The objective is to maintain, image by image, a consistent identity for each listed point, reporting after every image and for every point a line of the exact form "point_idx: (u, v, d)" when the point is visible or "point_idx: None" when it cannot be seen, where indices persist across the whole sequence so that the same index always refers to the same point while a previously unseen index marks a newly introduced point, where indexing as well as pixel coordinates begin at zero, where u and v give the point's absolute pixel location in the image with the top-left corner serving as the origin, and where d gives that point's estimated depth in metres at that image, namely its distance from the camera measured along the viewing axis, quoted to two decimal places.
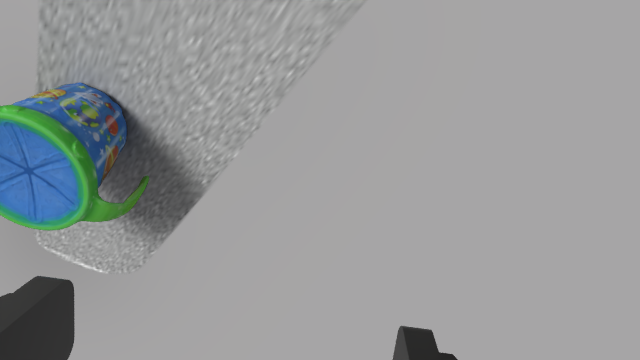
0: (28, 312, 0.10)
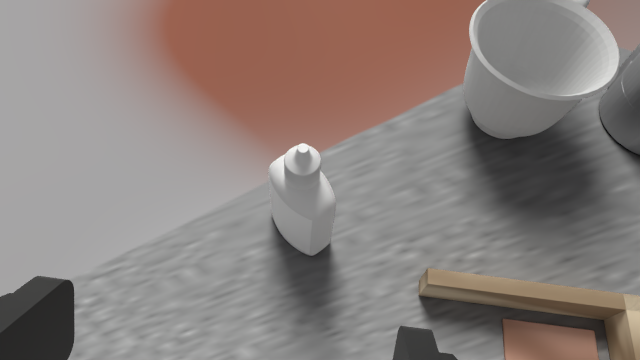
0: (28, 312, 0.10)
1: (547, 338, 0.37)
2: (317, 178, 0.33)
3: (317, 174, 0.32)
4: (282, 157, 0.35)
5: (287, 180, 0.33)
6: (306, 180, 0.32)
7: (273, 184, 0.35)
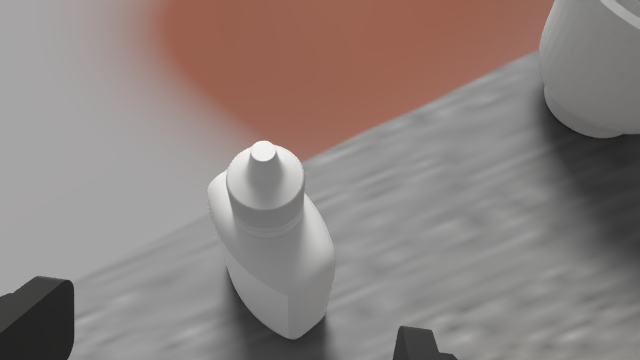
0: (28, 312, 0.10)
1: None
2: (298, 214, 0.16)
3: (297, 206, 0.15)
4: None
5: (236, 217, 0.16)
6: (273, 219, 0.15)
7: (214, 221, 0.18)
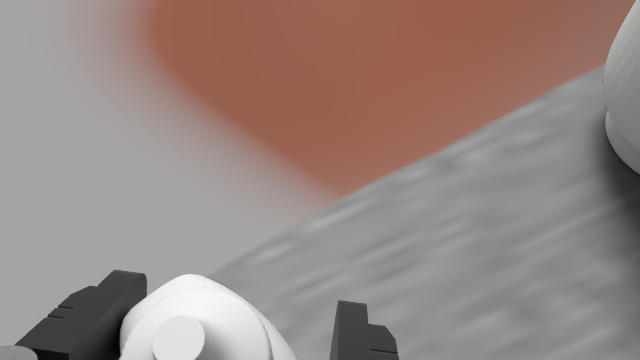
0: (116, 303, 0.11)
1: None
2: None
3: None
4: (162, 294, 0.11)
5: None
6: None
7: None
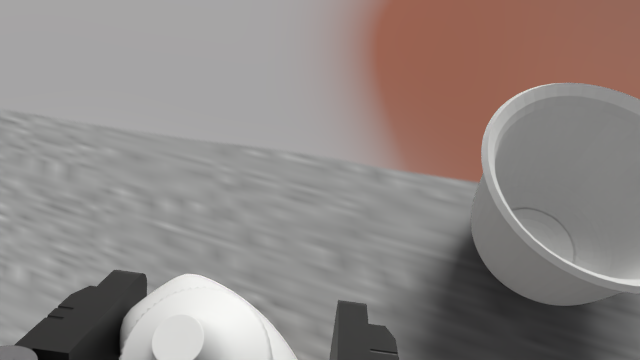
0: (116, 303, 0.11)
1: None
2: None
3: None
4: (162, 293, 0.11)
5: None
6: None
7: None
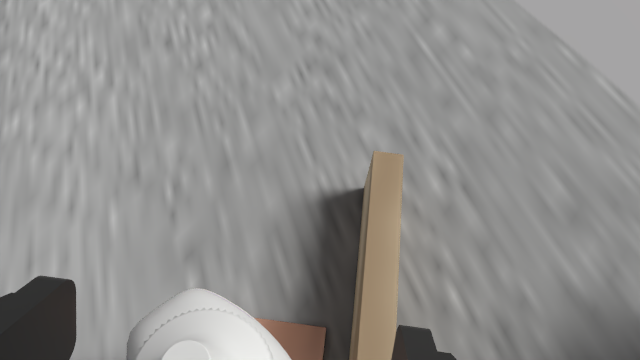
0: (30, 312, 0.10)
1: None
2: None
3: None
4: (168, 309, 0.11)
5: None
6: None
7: None
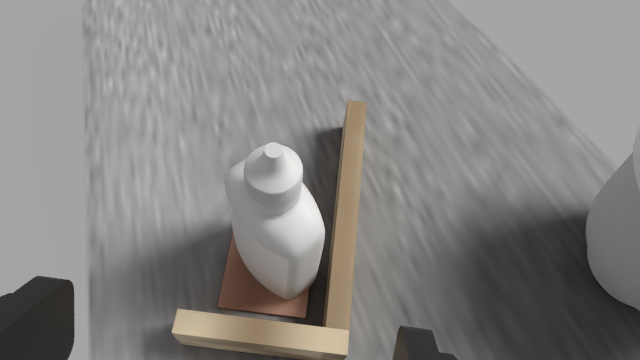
0: (28, 312, 0.10)
1: None
2: (296, 197, 0.21)
3: (296, 191, 0.21)
4: (245, 161, 0.23)
5: (249, 199, 0.21)
6: (279, 200, 0.20)
7: (230, 202, 0.23)
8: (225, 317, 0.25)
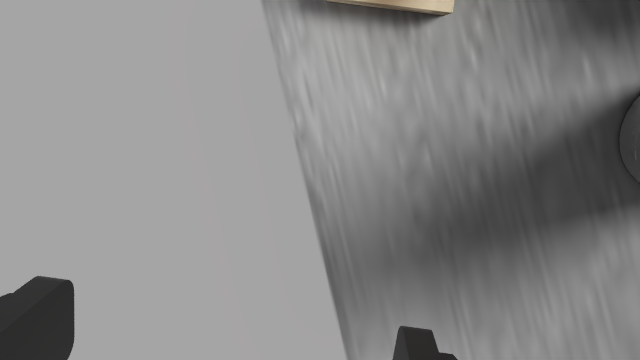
0: (28, 312, 0.10)
1: None
2: None
3: None
4: None
5: None
6: None
7: None
8: None
